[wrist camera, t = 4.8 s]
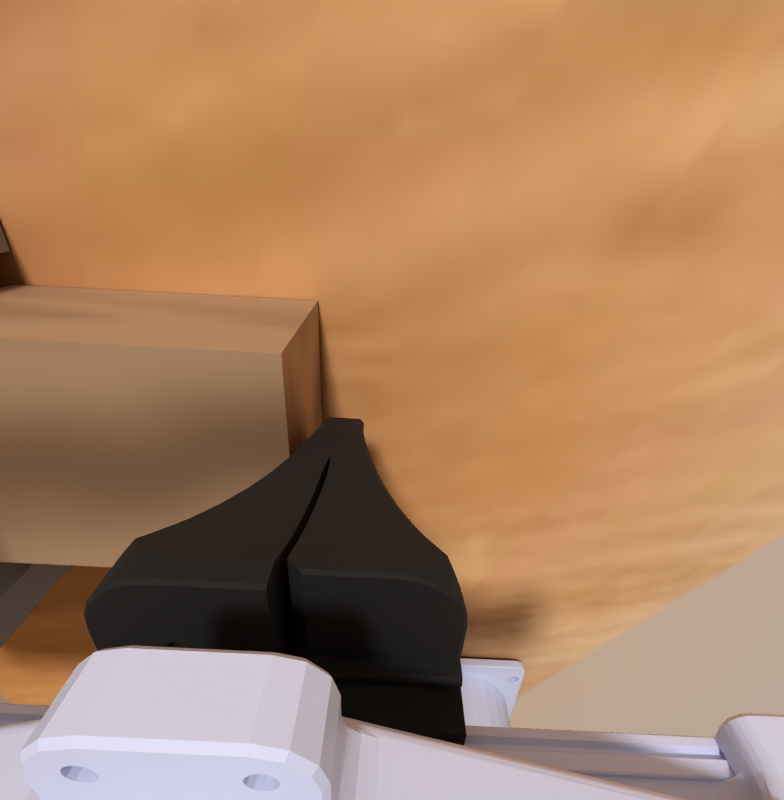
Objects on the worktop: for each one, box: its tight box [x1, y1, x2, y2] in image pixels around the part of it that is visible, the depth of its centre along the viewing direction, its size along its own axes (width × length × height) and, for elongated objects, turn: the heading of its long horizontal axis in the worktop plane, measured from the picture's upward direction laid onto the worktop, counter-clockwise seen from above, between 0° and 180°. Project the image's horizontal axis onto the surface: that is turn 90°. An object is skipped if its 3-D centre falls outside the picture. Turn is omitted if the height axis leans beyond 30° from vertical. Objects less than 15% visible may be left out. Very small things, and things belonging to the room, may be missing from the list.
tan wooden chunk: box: [0, 285, 322, 567], centre depth 13 cm, size 7×10×4 cm
